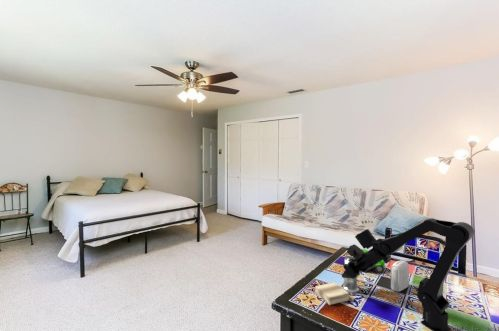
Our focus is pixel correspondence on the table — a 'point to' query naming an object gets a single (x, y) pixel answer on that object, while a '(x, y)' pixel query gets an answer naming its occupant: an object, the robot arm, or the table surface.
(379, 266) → the toy tractor
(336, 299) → the stand
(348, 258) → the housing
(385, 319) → the table surface
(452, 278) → the table surface
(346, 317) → the table surface
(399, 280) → the photo printer
